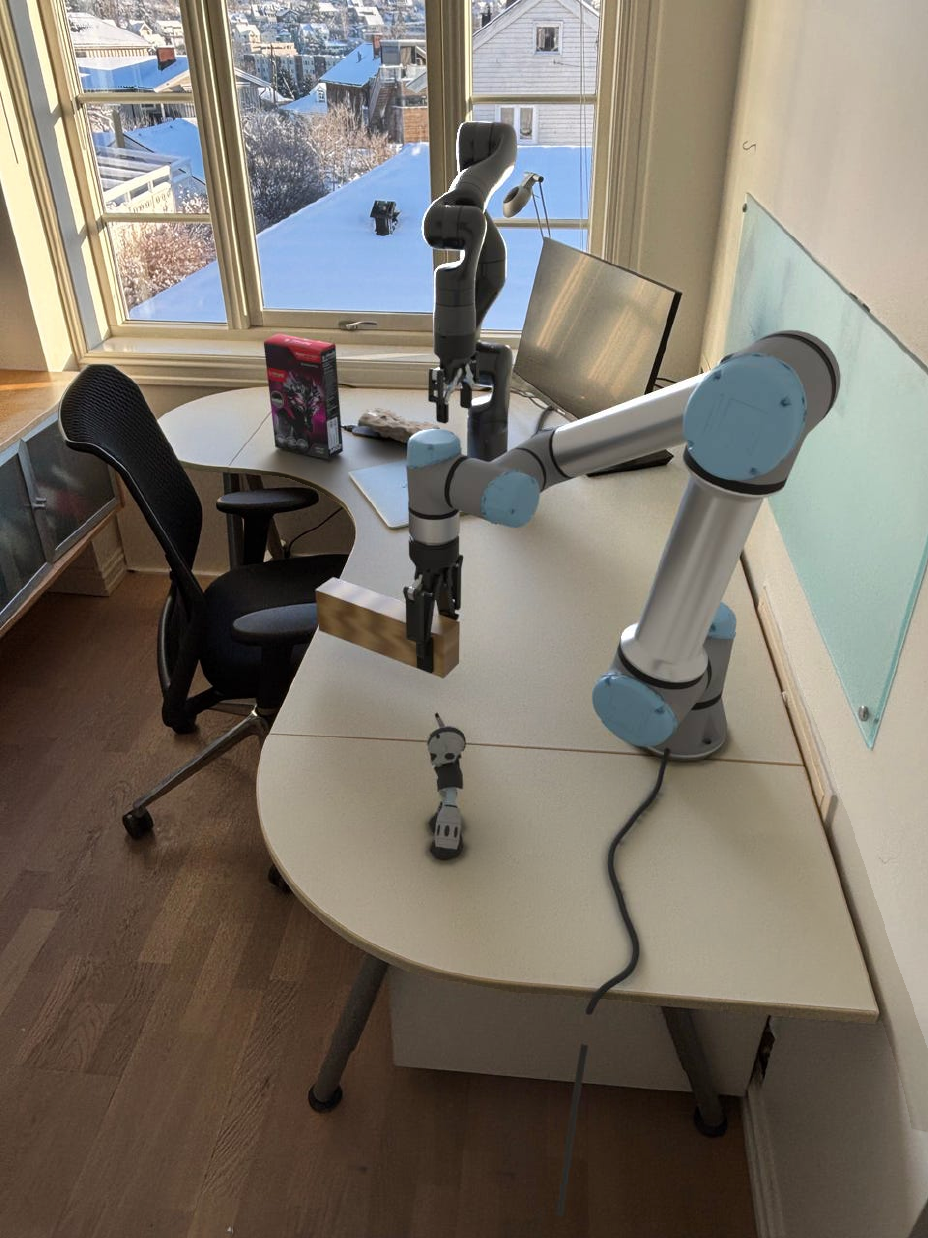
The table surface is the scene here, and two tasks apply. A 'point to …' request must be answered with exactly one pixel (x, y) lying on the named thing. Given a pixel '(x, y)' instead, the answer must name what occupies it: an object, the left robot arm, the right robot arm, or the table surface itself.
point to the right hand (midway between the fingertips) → (434, 660)
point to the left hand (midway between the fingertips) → (454, 414)
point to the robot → (447, 789)
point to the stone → (392, 424)
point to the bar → (382, 625)
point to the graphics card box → (304, 395)
